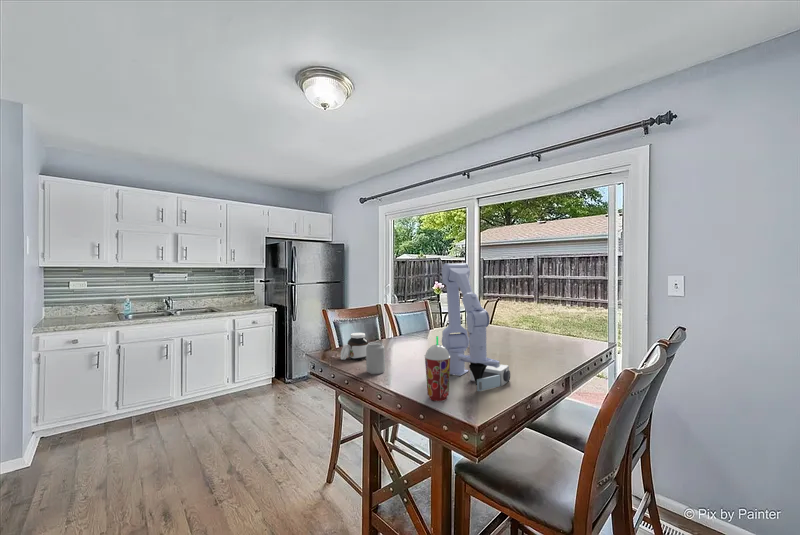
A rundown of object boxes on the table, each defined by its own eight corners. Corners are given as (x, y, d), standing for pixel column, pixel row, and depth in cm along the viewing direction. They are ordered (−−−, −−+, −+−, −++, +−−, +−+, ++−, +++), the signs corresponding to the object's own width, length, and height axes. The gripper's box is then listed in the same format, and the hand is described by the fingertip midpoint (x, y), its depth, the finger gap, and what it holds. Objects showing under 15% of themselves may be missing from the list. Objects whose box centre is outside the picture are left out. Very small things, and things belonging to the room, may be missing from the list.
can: (373, 376, 134) (373, 345, 134) (362, 372, 139) (362, 342, 139) (388, 372, 139) (388, 342, 139) (377, 368, 144) (377, 340, 144)
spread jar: (371, 358, 160) (371, 334, 160) (353, 363, 152) (352, 337, 152) (354, 354, 168) (354, 331, 168) (336, 359, 160) (336, 334, 160)
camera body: (469, 380, 127) (469, 364, 127) (478, 374, 134) (478, 359, 134) (504, 387, 119) (504, 369, 119) (512, 381, 126) (512, 364, 126)
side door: (479, 391, 114) (479, 380, 114) (476, 390, 115) (476, 379, 115) (503, 386, 119) (503, 375, 119) (500, 385, 120) (499, 374, 120)
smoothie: (455, 401, 107) (454, 337, 108) (430, 404, 105) (430, 339, 105) (444, 392, 115) (443, 333, 116) (421, 395, 113) (420, 334, 113)
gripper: (453, 345, 119) (454, 384, 119) (494, 350, 110) (494, 392, 110) (462, 341, 124) (463, 378, 124) (501, 346, 116) (502, 386, 116)
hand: (478, 384), depth 118 cm, fingers closed
